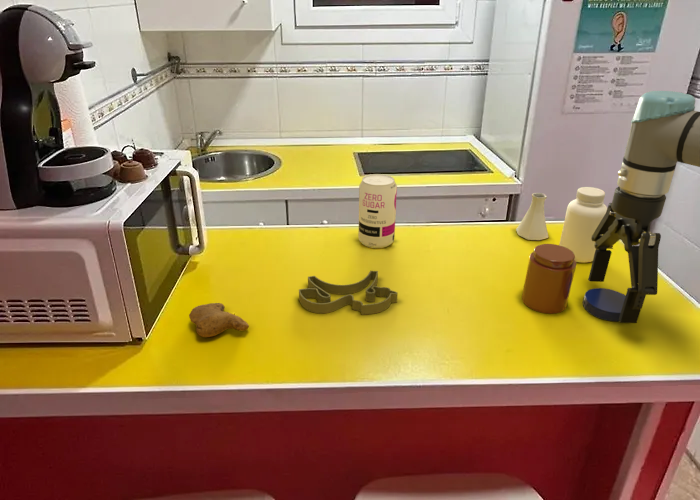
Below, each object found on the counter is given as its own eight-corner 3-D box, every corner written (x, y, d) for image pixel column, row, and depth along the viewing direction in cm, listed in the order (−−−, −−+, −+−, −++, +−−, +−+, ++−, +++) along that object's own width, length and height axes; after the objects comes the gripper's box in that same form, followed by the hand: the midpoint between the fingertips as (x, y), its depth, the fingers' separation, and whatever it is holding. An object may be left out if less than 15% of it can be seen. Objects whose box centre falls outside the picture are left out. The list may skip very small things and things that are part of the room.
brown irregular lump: (249, 337, 87) (248, 319, 86) (188, 344, 85) (185, 326, 84) (248, 305, 96) (246, 288, 94) (192, 310, 94) (189, 293, 92)
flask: (510, 229, 126) (517, 190, 121) (537, 226, 127) (545, 188, 122) (525, 242, 119) (532, 202, 115) (554, 239, 121) (562, 199, 116)
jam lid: (627, 300, 98) (629, 291, 97) (635, 325, 91) (638, 316, 90) (580, 293, 100) (582, 284, 99) (584, 317, 93) (587, 308, 92)
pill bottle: (550, 254, 114) (564, 190, 107) (568, 243, 119) (582, 181, 112) (586, 267, 109) (602, 201, 102) (602, 255, 114) (619, 191, 107)
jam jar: (572, 314, 94) (585, 263, 89) (528, 313, 94) (538, 262, 89) (558, 290, 101) (569, 242, 96) (516, 289, 101) (525, 241, 96)
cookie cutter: (386, 277, 105) (386, 269, 104) (401, 311, 94) (401, 302, 93) (297, 285, 102) (296, 276, 101) (302, 320, 92) (302, 311, 91)
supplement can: (389, 232, 124) (391, 172, 117) (397, 248, 116) (401, 185, 109) (355, 234, 122) (356, 174, 115) (362, 250, 115) (363, 187, 108)
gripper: (588, 165, 96) (566, 266, 106) (655, 221, 74) (619, 341, 83) (629, 166, 96) (603, 266, 105) (709, 222, 74) (666, 342, 83)
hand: (610, 300), depth 94 cm, fingers open, 13 cm apart
